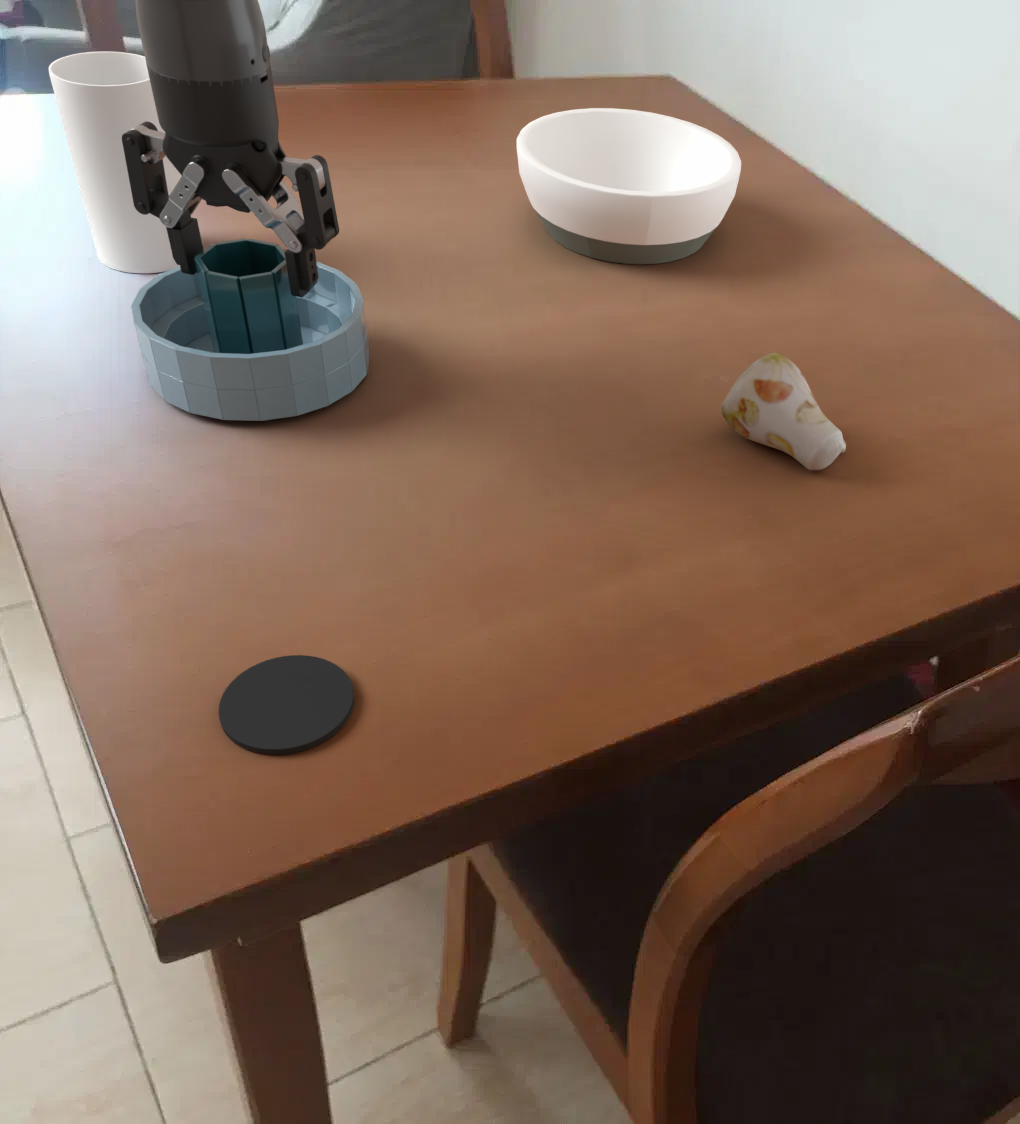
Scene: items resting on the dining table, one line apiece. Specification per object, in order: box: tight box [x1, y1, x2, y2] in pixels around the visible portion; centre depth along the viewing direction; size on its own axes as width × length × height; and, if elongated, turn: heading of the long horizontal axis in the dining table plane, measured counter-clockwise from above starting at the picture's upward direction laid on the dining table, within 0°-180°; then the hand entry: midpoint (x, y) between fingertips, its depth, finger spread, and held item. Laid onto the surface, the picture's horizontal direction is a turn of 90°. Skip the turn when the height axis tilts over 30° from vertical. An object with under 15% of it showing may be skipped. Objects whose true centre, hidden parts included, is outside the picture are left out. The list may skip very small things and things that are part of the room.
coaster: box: [218, 654, 355, 756], centre depth 64 cm, size 7×7×1 cm
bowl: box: [515, 107, 742, 265], centre depth 115 cm, size 22×22×8 cm
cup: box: [48, 51, 194, 274], centre depth 96 cm, size 8×8×16 cm
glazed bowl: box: [130, 260, 371, 422], centre depth 87 cm, size 16×16×6 cm
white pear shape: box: [720, 352, 847, 471], centre depth 89 cm, size 8×10×10 cm
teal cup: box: [195, 238, 303, 354], centre depth 86 cm, size 6×6×9 cm
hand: (248, 281), depth 84 cm, fingers open, 8 cm apart
